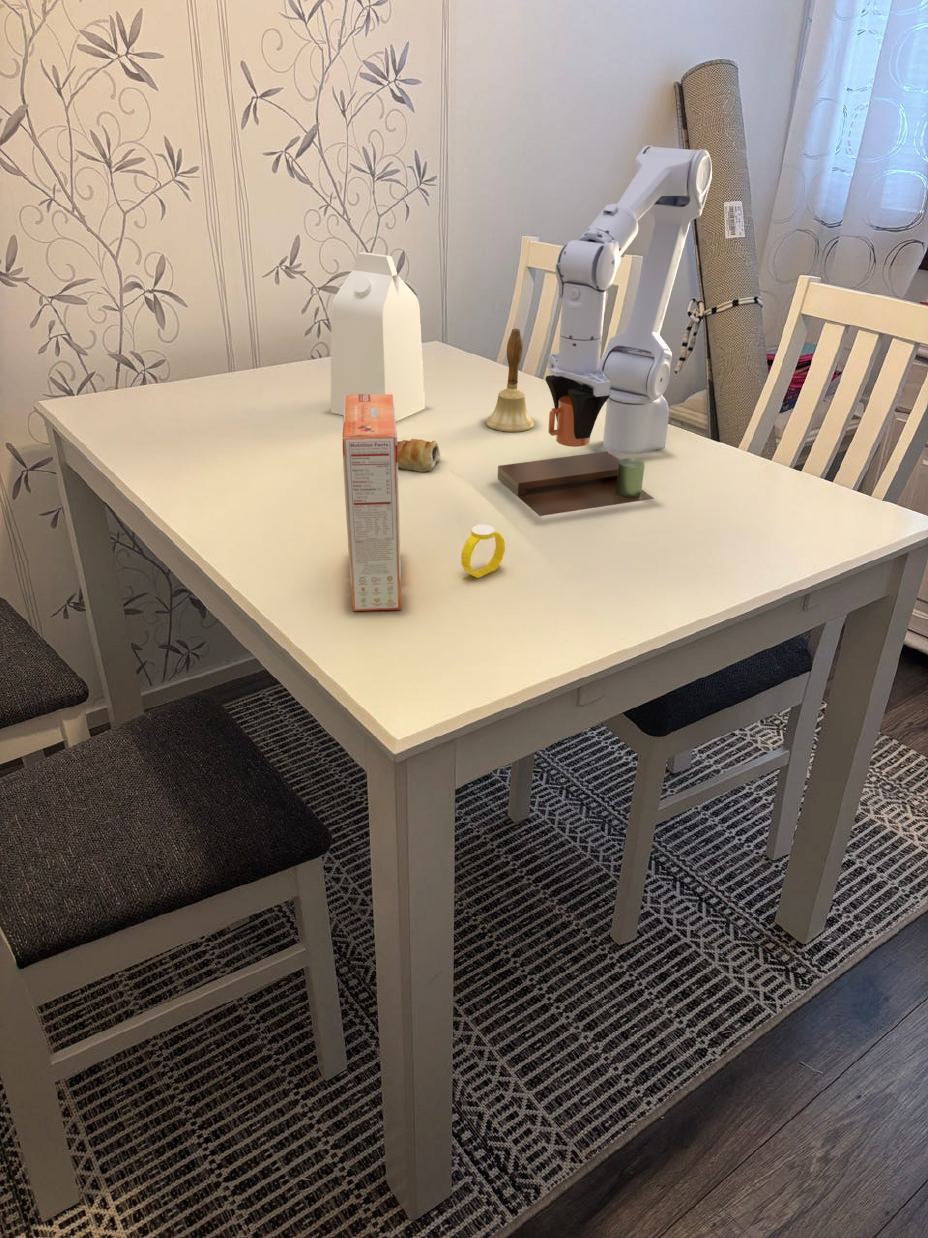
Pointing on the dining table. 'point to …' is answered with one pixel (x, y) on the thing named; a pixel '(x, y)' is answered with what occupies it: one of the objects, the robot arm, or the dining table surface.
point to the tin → (630, 477)
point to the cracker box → (372, 501)
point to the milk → (376, 337)
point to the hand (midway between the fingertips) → (573, 431)
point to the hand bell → (511, 394)
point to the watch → (476, 534)
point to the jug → (565, 424)
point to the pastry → (417, 454)
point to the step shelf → (566, 483)
